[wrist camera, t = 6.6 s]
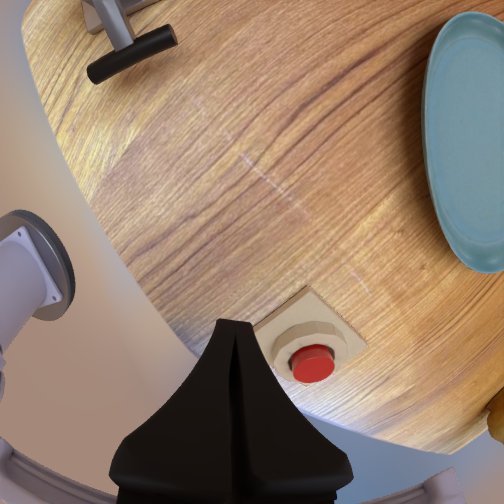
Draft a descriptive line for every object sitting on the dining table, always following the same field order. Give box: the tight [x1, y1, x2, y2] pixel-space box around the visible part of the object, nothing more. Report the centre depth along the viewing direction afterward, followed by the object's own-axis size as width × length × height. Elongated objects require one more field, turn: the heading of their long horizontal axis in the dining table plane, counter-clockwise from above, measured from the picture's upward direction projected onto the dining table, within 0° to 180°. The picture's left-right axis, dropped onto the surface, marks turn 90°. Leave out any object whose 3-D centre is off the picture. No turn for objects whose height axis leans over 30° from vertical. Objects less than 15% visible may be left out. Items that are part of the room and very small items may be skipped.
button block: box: [253, 285, 369, 387], centre depth 23 cm, size 10×8×2 cm
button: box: [291, 344, 335, 383], centre depth 22 cm, size 4×4×2 cm
